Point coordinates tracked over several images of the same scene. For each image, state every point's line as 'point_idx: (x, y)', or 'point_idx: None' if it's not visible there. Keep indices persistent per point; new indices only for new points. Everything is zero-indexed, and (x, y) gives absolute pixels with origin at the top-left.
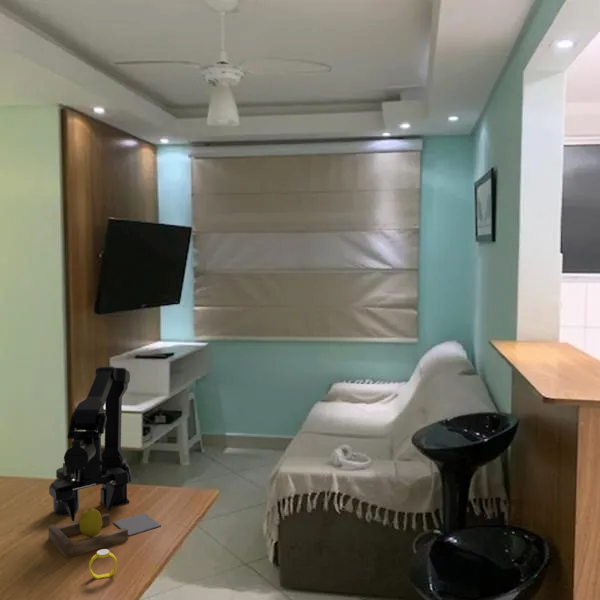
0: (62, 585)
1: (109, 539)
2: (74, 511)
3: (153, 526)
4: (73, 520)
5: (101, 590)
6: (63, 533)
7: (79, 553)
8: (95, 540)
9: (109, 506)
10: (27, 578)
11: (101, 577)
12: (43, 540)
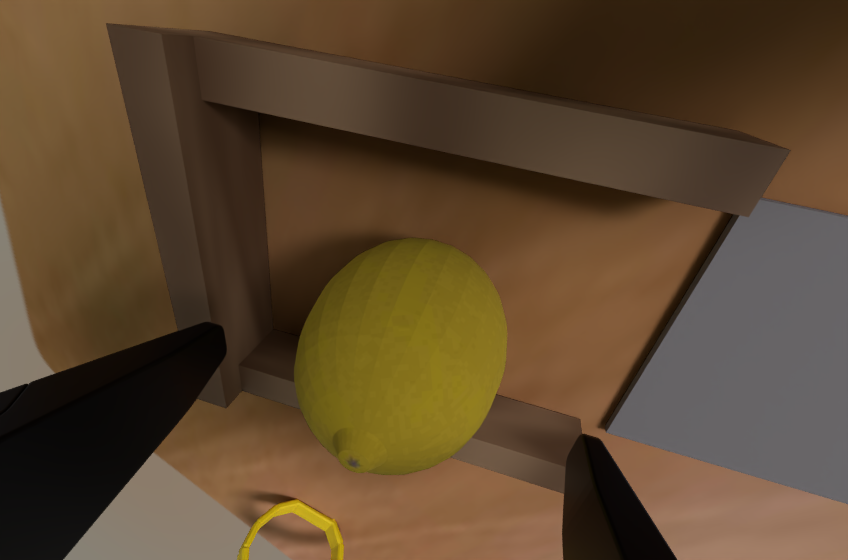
0: (196, 454)
1: None
2: (132, 473)
3: (805, 481)
4: (214, 359)
5: (281, 539)
6: (203, 278)
7: None
8: None
9: (566, 539)
10: (95, 342)
11: (303, 518)
12: (175, 20)
